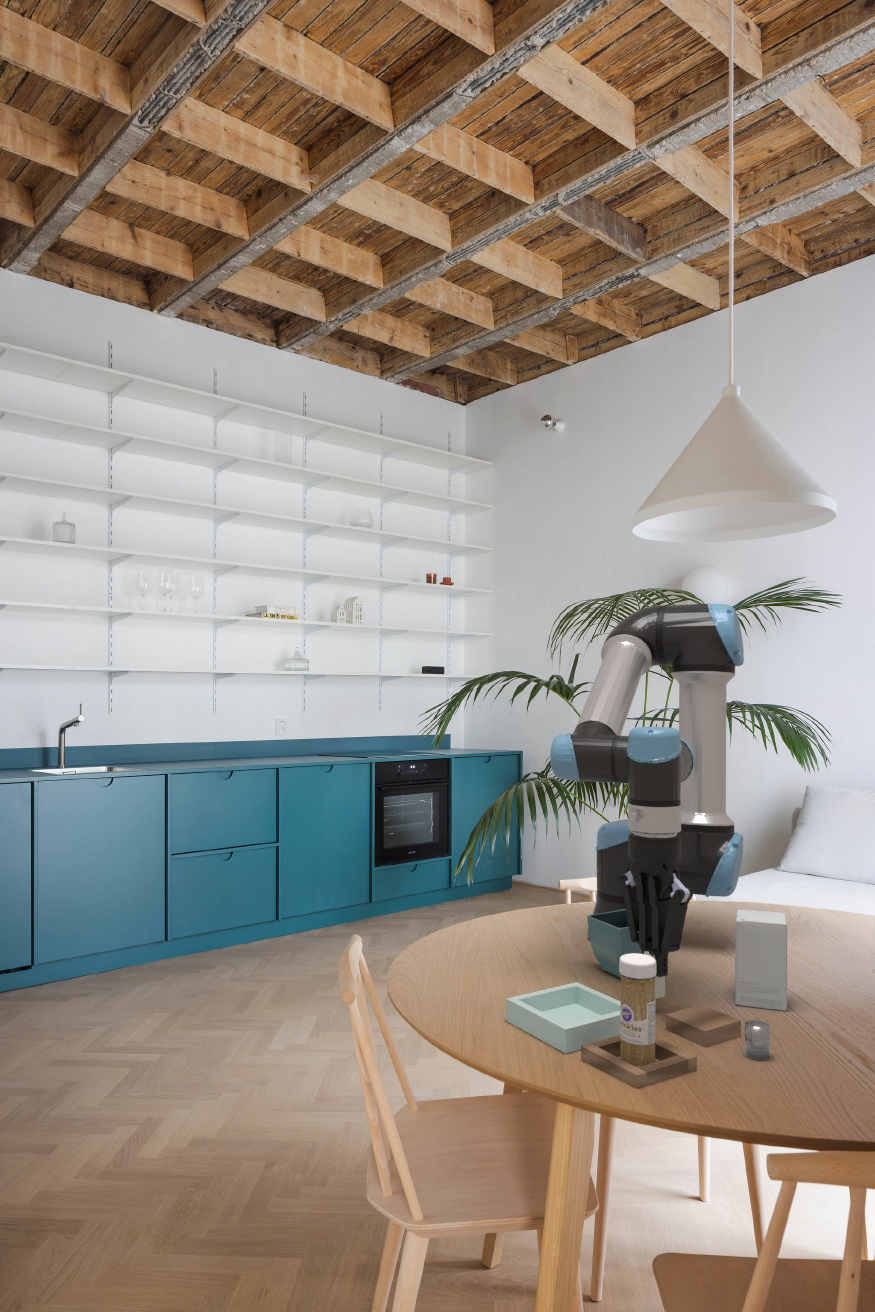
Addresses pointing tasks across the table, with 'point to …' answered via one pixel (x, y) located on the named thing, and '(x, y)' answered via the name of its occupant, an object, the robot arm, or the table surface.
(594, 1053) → the socket block
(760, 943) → the supplement box
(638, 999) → the sprinkles bottle
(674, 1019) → the square wooden coaster
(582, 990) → the tray
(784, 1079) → the table surface
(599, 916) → the flower pot
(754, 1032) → the bench dog
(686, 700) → the robot arm
